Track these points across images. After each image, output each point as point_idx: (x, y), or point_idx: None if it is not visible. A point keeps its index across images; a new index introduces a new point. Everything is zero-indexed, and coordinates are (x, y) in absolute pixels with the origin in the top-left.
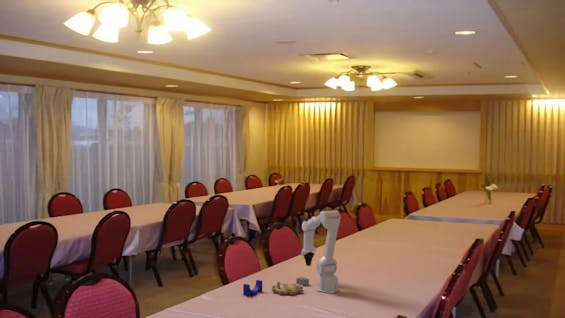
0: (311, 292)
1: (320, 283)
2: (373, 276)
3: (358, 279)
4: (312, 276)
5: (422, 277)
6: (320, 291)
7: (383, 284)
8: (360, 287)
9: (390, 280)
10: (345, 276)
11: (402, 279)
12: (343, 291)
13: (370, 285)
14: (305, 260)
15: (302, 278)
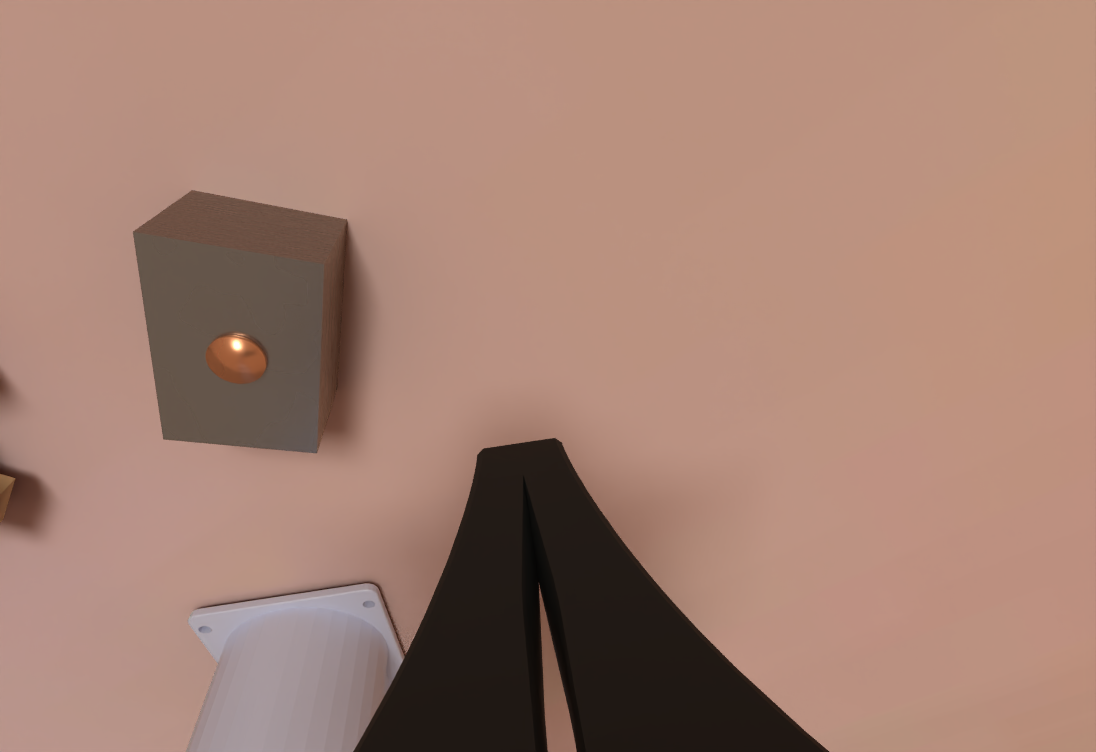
0: (94, 600)
1: (195, 727)
2: (1064, 605)
3: (912, 590)
4: (896, 89)
5: (1080, 749)
6: (209, 644)
7: (813, 734)
8: None
9: (950, 709)
10: (1016, 459)
11: (1000, 727)
12: None
13: None
14: (432, 607)
15: (230, 363)
